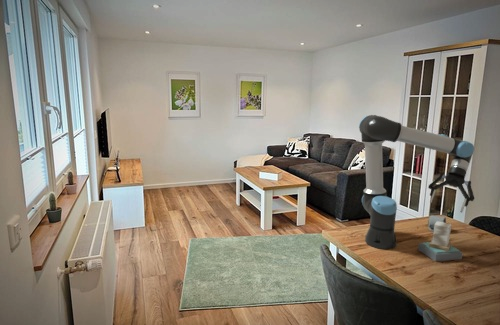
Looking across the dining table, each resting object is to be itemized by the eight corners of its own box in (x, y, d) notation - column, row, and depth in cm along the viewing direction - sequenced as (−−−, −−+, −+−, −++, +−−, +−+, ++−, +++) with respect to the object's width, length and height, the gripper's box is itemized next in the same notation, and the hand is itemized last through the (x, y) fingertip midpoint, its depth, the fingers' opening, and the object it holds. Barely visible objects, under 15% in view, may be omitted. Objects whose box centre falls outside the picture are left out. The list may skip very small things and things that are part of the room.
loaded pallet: (428, 246, 156) (431, 224, 154) (432, 241, 162) (435, 219, 160) (448, 251, 151) (451, 228, 149) (451, 246, 157) (454, 223, 155)
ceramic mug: (429, 224, 194) (431, 212, 193) (445, 228, 189) (447, 216, 188) (424, 230, 187) (426, 217, 185) (441, 234, 181) (442, 221, 180)
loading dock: (435, 261, 150) (436, 253, 150) (417, 249, 162) (418, 242, 161) (461, 259, 153) (462, 251, 152) (442, 247, 165) (443, 240, 164)
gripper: (485, 180, 165) (473, 218, 159) (430, 165, 177) (418, 200, 172) (488, 174, 159) (476, 213, 153) (432, 159, 171) (419, 195, 166)
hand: (445, 206), depth 163 cm, fingers open, 13 cm apart
